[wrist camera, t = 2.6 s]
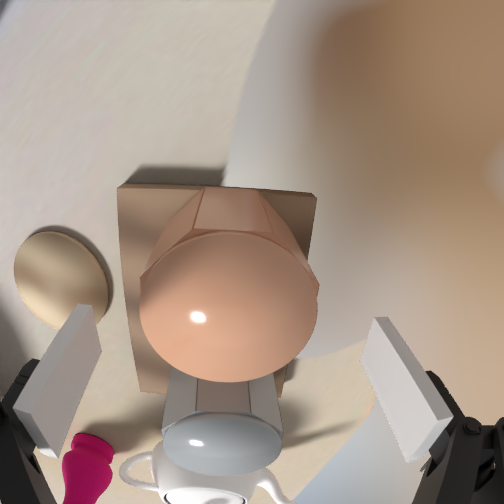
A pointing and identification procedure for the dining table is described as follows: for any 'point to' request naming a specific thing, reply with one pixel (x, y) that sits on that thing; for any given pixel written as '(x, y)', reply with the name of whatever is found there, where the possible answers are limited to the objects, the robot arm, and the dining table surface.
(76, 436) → the pepper mill
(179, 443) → the grey faceted canister
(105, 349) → the dining table surface
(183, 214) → the peach faceted canister
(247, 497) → the teapot
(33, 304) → the coaster
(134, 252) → the board
